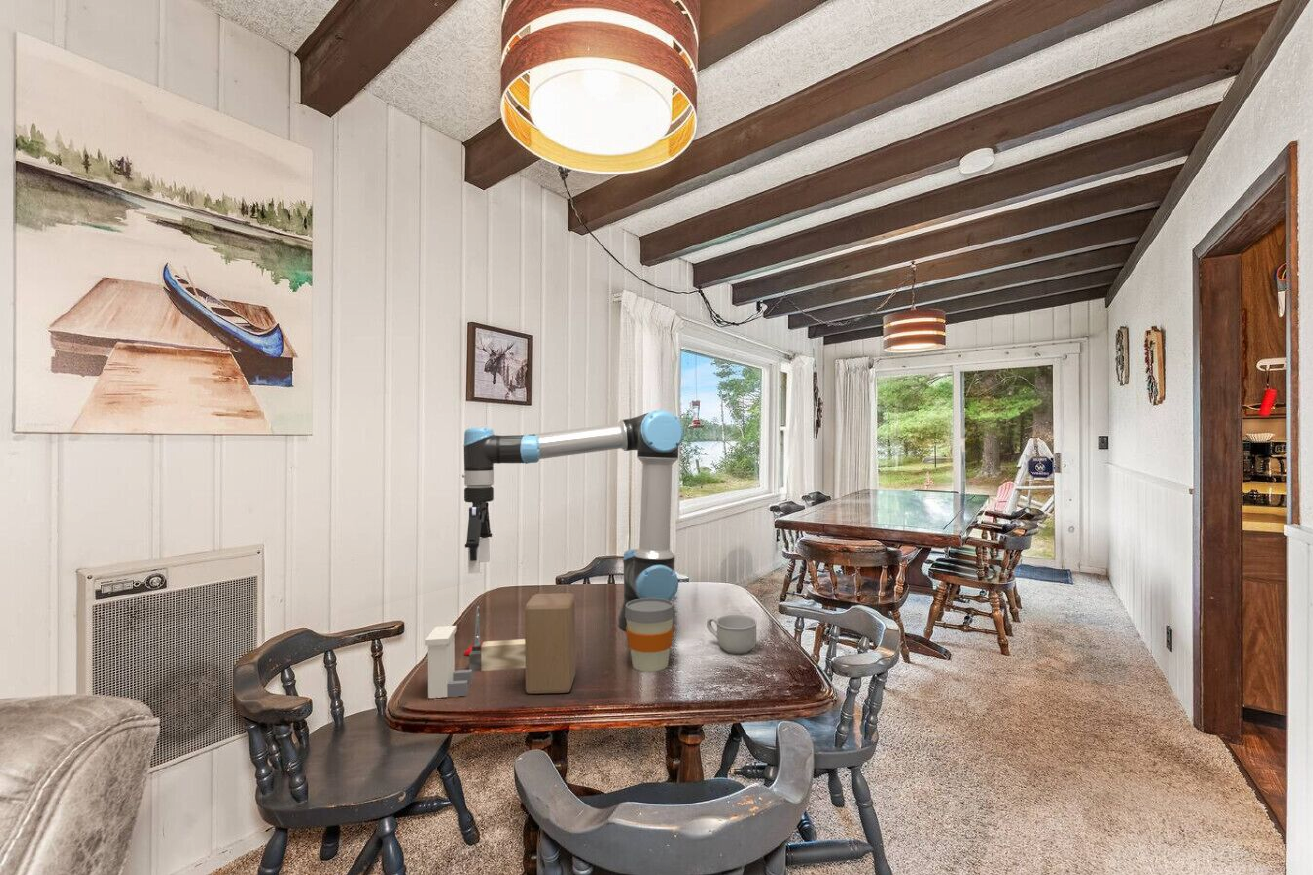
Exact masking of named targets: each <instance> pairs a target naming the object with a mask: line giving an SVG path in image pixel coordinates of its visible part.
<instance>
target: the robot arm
mask: <svg viewBox="0 0 1313 875" xmlns="http://www.w3.org/2000/svg"><path fill="white" fill-rule="evenodd" d="M463 433H464V435H463V471H464V472H463V473H462V474H461V478H462V479H463V478H464V479H463V482H464V483H463V485H464V486H465V488H464V489H463V501H464V502H465V503H472V505H471V507H468V524H467V533H466V541H465V542H466V543H464V548H467V558H468V561H467V563H468V564H467V568H468V570H467V571H468V574H480V573H481V563H489V562H490V538H493V533H492V530H491V523H490V522H491V521H490V513H489V510H490V509H489V505H490V504H489V503H490V502H493V501H494V499H495V489H494V487H493V485H495V469H494V468H495V467H494V466H495V465H496V464H497V465H498V464H525V465H527V464H534V463H538V462H539V460H541V459H542V460H543V459H549V458H550V459H551V458H557V457H558V458H559V457H564V456H565V457H567V456H574V455H580V454H588V453H597V452H603V451H604V452H605V451H612V450H619V449H620V450H623V451H624V452H628V451H629V452H630V451H637V456H636V457H637V459H638V460H639V461H640V462H641V466H642V467H641V469H642V470H641V488H640V489H641V490H640V492H641V493H640V515H639V516H640V520H639V544H638V545H639V547H638V549H637V548H636V549H627V550H626V551H625V552H624V553H623V559H622V562H623V603H622V606H621V609H620V612H619V616H618V627H619V628H620V629H622V630H624V631H626V627H627V619H626V618H625V609H626V604H627V603H628V602H630V601H632V600H636V599H642V598H660V599H666V600H669V601H672V599H673V598H674V597H675V595H676V593H677V591H678V587H679V579H678V577H677V574H676V572H675V559H676V558H675V553H673V552H672V550H671V549H670V540H671V520H672V519H671V518H672V515H671V514H672V489H673V488H672V487H673V465H674V463H676V462H677V461H678V460H679V446H680V444H681V443H682V441H683V437H684V428H683V424H682V422H681V420H680V419H679V417H677V416H676V414H674V413H672V412H670V411H667V410H661V409H659V410H652V411H650V412H646V413H644V414H640V415H638V416H636V417H632V418H627V419H621V420H619V422H618V423H614V424H603V425H599V426H598V425H597V426H589V427H581V428H573V429H572V428H571V429H565V430H556V431H549V432H540V433H534V434H525V435H524V434H523V435H522V434H521V435H520V434H519V435H517V434H516V435H497V434H496V435H495V433H494V429H493V428H491V427H485V428H483V427H473V428H472V427H469V428H467V429H465V431H464V432H463Z"/></svg>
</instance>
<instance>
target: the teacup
mask: <svg viewBox="0 0 1313 875" xmlns="http://www.w3.org/2000/svg"><path fill="white" fill-rule="evenodd" d="M712 622H714V623H715V625H716V630H715V629H714V627H713V626H712ZM757 623H758V622H757V619H755V618H754V617H753V616H750V615H746V614H742V613H741V614H739V613H730V614H724V615H722V616H719V617H718V618H717V617H715V616H711V617H709V618H708V619H707V621H706V628H707V629H708V631H709V632H710V633H711V634H712V635H713V636H714V637H716V639H717V643H718V645H719V647H721V649H723V651H725V652H727V653H730V654H734V655H742V654H746V653H748V652H749V651H750V650H751V649H753V648H754V647H755V645H756V643H757V625H758V624H757Z"/></svg>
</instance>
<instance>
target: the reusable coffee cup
mask: <svg viewBox="0 0 1313 875" xmlns="http://www.w3.org/2000/svg"><path fill="white" fill-rule="evenodd" d="M675 615H676V612H675V605H674V602H672V600H670V601H669V600H666V599H660V598H642V599H636V600H632V601H630V602H628V603H627V604H626V609H625V618H626V619H627V627H626V630H625V631H626V636H627V644H628V647H629V648H630V653H631V654H630V655H631V662H632V667H633V668H634V669H635V670H637V671H641V672H646V673H647V672H648V673H651V672H654V673H655V672H659V671H662V670H665V669H666V668H668V666H669V662H670V661H669V660H670V651H671V648H672V645H673V638H674V629H675V626H674V623H673V622H674V618H675Z"/></svg>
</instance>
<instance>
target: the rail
mask: <svg viewBox="0 0 1313 875" xmlns="http://www.w3.org/2000/svg"><path fill="white" fill-rule="evenodd" d="M482 643H483V644H482V646H481V651H471V652H470V654H469V656H468V670H472V672H475V671H476V672H477V670H478V671H481V672H487V671H489V672H490V671H504V670H518V669H519V670H520V669H526V656H525V638H521V639H504V640H501V639H500V640H488V641H483V642H482Z"/></svg>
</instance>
